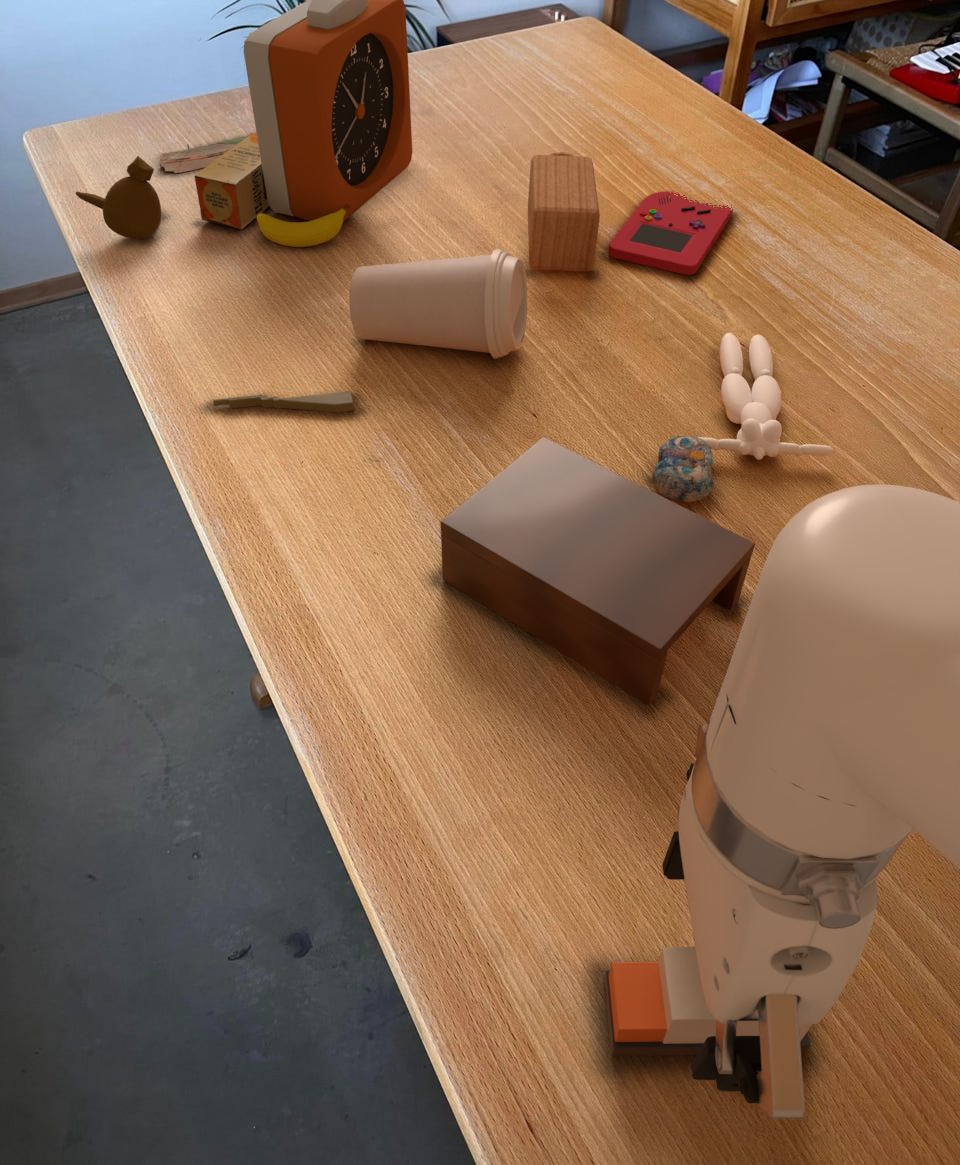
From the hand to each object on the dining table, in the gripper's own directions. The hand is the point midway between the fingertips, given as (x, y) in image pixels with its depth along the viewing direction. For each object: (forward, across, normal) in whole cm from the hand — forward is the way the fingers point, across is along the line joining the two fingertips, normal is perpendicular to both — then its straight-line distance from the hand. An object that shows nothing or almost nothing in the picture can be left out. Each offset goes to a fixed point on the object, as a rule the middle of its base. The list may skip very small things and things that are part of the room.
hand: (707, 966), depth 49 cm
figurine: (+4, +80, +46) cm, 93 cm away
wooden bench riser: (+6, +30, +3) cm, 30 cm away
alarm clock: (+8, +92, +26) cm, 96 cm away
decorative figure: (+4, +61, -14) cm, 63 cm away
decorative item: (+3, +73, +2) cm, 73 cm away
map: (+8, +103, +39) cm, 111 cm away
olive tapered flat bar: (+6, +52, +28) cm, 59 cm away
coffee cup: (+4, +63, +22) cm, 67 cm away
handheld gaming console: (+6, +89, -14) cm, 90 cm away
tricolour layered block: (+6, 0, -1) cm, 6 cm away
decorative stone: (+6, +41, -6) cm, 42 cm away
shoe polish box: (+5, +95, +34) cm, 101 cm away
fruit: (+7, +79, +29) cm, 84 cm away
